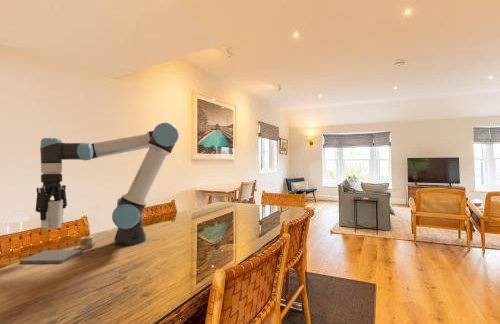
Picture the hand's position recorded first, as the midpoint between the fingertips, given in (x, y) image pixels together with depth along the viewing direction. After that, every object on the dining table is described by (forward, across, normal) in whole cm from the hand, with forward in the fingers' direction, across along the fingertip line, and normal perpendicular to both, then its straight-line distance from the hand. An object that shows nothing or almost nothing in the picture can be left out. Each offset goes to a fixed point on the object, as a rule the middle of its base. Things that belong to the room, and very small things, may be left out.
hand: (52, 225), depth 117 cm
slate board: (+14, 0, 0) cm, 14 cm away
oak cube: (+15, -14, +6) cm, 21 cm away
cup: (+1, 0, 0) cm, 1 cm away
